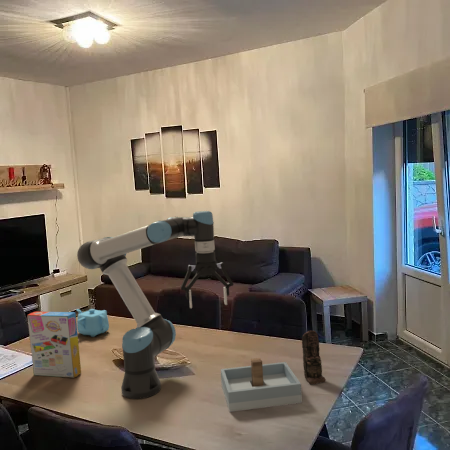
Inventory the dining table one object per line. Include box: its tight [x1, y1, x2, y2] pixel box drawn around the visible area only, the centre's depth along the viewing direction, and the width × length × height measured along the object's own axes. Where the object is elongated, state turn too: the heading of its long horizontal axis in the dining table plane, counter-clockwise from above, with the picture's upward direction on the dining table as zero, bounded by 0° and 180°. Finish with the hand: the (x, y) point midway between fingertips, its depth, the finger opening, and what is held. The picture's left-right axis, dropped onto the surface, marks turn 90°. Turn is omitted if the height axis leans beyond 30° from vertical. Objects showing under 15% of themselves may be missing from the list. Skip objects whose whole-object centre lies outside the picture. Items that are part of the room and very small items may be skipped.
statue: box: [301, 330, 326, 385], centre depth 178 cm, size 7×7×20 cm
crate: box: [220, 361, 303, 413], centre depth 169 cm, size 26×20×7 cm
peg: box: [250, 357, 263, 387], centre depth 172 cm, size 4×4×12 cm
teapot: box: [75, 308, 110, 338], centre depth 250 cm, size 18×16×14 cm
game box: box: [26, 311, 82, 379], centre depth 197 cm, size 21×6×27 cm, turn 74°
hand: (208, 305), depth 177 cm, fingers open, 13 cm apart
